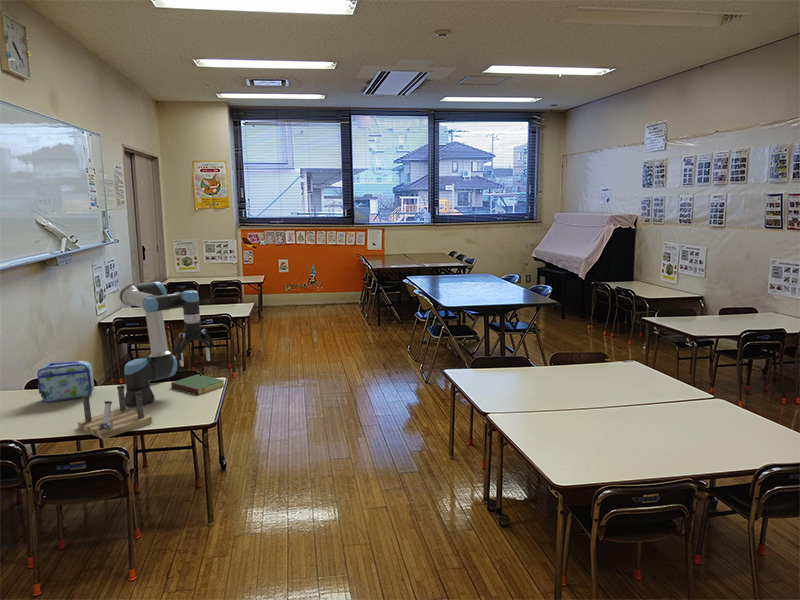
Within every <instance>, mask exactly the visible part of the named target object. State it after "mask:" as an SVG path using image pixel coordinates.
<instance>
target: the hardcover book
mask: <svg viewBox="0 0 800 600" xmlns="http://www.w3.org/2000/svg"><path fill="white" fill-rule="evenodd" d="M200 375H201V376H200ZM170 386H171V389H175V390H179V391H182V392H185V391H186V392H187V393H189V392H190V394H193V393H194V394H193V395H196V394H197V395H198V396H199V395H201V393H202V394H204V392H205V393H207V392H210V391H213V390H215V389H218V388H221V386H222V387H224V386H225V380H224V379H220V378H215V377H211V376H206V375H203V374H198V373H197V374H195V375H191V376H188V377H185V378H181V379H178V380H175V381H172V382H171V383H170ZM197 395H196V396H197Z"/></svg>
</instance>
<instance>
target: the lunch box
mask: <svg viewBox="0 0 800 600" xmlns="http://www.w3.org/2000/svg"><path fill="white" fill-rule="evenodd" d="M36 376H37V381H38V384H37V387H38V393H39V394H40V397H41V400H43V402H44V403H45V402H46V403H52V402H57V401H65V400H74V399H79V398H81V399H82V396H84V395H89V397H90V396H91V395H92V393H93V392H94V390H95V383H94V382H95V381H94V375H93V368H92V364H91V363H90V362H89V361H87V360H73V361H72V360H71V361H62V362H50V363H47V364H45V365H44V366H42V368H40V369H39V370H37V375H36Z"/></svg>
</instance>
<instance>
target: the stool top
mask: <svg viewBox="0 0 800 600" xmlns="http://www.w3.org/2000/svg"><path fill="white" fill-rule="evenodd" d="M116 389H117V394H118V395H117V396H118V402H119V403H118V404H119V409H115V410H112V411H110V420H109V429H102V424H103V419H104V413H102V414H100V415H97V416H93V417H92V412H91V405H90V404H91V403H90V402H91V401H90V396H89V395H84V396H82V398H81V399H82V403H83V411H84V419H83V420H80V421H77V428H78V429H80V430H82V431H84V432H86V433H89V434H90V435H93V436H95V437H97V438H99V439H100V440H106V439H109V438H111V437H114V436H117V435H121V434H124V433H126V432H129V431H132V430H135V429H138V428H141V427H144V426H146V425H149V424H150V425H151V424H152V423H153V417H152V416H151V415H148V414H145V413H144V412H145V411H144V406H143V402H142V392H140V391H139V392H135V395H136V403H137V407H136V410H135V409H132V408H131V407H127V406H126V405H125V385H122V384H121V385H116Z"/></svg>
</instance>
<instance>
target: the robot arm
mask: <svg viewBox="0 0 800 600" xmlns="http://www.w3.org/2000/svg"><path fill="white" fill-rule="evenodd" d="M119 299H120V301H121V303H122V304H124V305H125V306H128V307H138V308H141V309H143V311H144V312H145V313H144V314H145V320H146V325H147V333H148V338H149V339H148V340H149V346H150V351H151V353H150V354H149V355H150V356H149V355H148V356H149V360H147V359H145V358H141V357H140V358H141V359H140V358H136V359H132V360H129V361H128V362H126V364H125V365H124V371H123V373H124V378H125V379H124V380H125V386H126V387H125V388H126V389H125V390H126V392H125V394H124V396H125V405H126V407H127V408H137V403H136V395H135V392H139V391H140V392H142V402H143V407H144V406H148V405H151V404H153V403H154V402H155V401H156V398H155V394H154V392H153V390H152V388H151V385H150V383H151V382H154V381H158V379H162V378H166V379H167V378H170V377H173V376H174V375H175V374H176V373H177V370H178V361H179V365H180V367H184V353H182V352H183V351H184V350H185V348H186V347H187V345H188V344H189V343H190V341H191V342H193V341H198V340H199V341H200V342H202V344H204V346H206V347H205V357H206V361H208V362H210V361H211V354H212V348H213V347H214V346H215V343H214V341H213V340H212V338H211V336H210V335H209V333H208V329H206V328H203V329H202V328H201V327H202V325H201V324H202V323H201V322H200V321H201V312H200V296H199V292H198V291H197V290H191V289H190V290H184V291H175V292H174V293H170V294H169V293H167V289H166V287H165V286H164V285H163V282H160V281H147V282H139V283H130V284H128V285H126V286H124V287H123V288H122V289H121V290H120V292H119ZM175 309H182V311H183V312H182V313H183V322H184V324H183V325H184V332H183V333H182V332H179V333H178V337H177V340H176V342H175V345H174V347H173V350H172V352H173V353H174V354H177V358H176V356H175V355H173V354H172V352H171V351H169V347H168V341H167V334H166V329H165V321H164V315H163V311H167V310H175ZM201 329H202V330H201ZM202 334H203V335H204V337H205V338H206V340H207V341H206V340H205V339H204V338H203V336H201V335H202ZM183 339H184V340H183Z"/></svg>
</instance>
